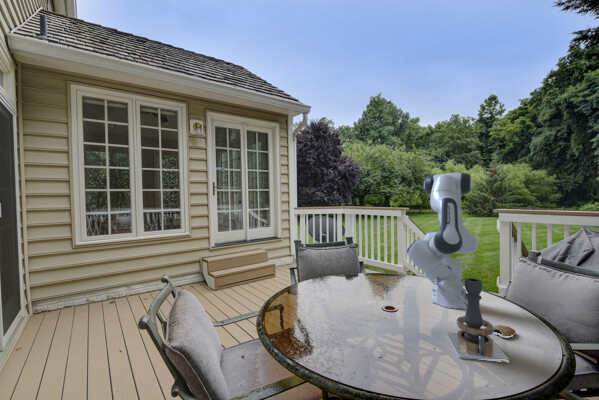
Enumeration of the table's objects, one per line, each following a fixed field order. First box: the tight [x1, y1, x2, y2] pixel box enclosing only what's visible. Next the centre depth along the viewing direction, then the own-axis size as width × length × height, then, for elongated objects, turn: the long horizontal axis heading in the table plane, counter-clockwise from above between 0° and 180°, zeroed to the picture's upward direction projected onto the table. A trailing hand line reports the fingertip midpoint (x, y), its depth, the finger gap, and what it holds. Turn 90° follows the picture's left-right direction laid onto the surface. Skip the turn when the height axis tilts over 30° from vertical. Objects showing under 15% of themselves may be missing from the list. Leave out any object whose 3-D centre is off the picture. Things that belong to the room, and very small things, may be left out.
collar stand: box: [445, 315, 510, 361], centre depth 105 cm, size 16×16×10 cm
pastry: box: [493, 324, 516, 336], centre depth 115 cm, size 9×7×4 cm
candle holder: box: [464, 277, 484, 343], centre depth 105 cm, size 6×6×25 cm
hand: (467, 303), depth 106 cm, fingers open, 8 cm apart
